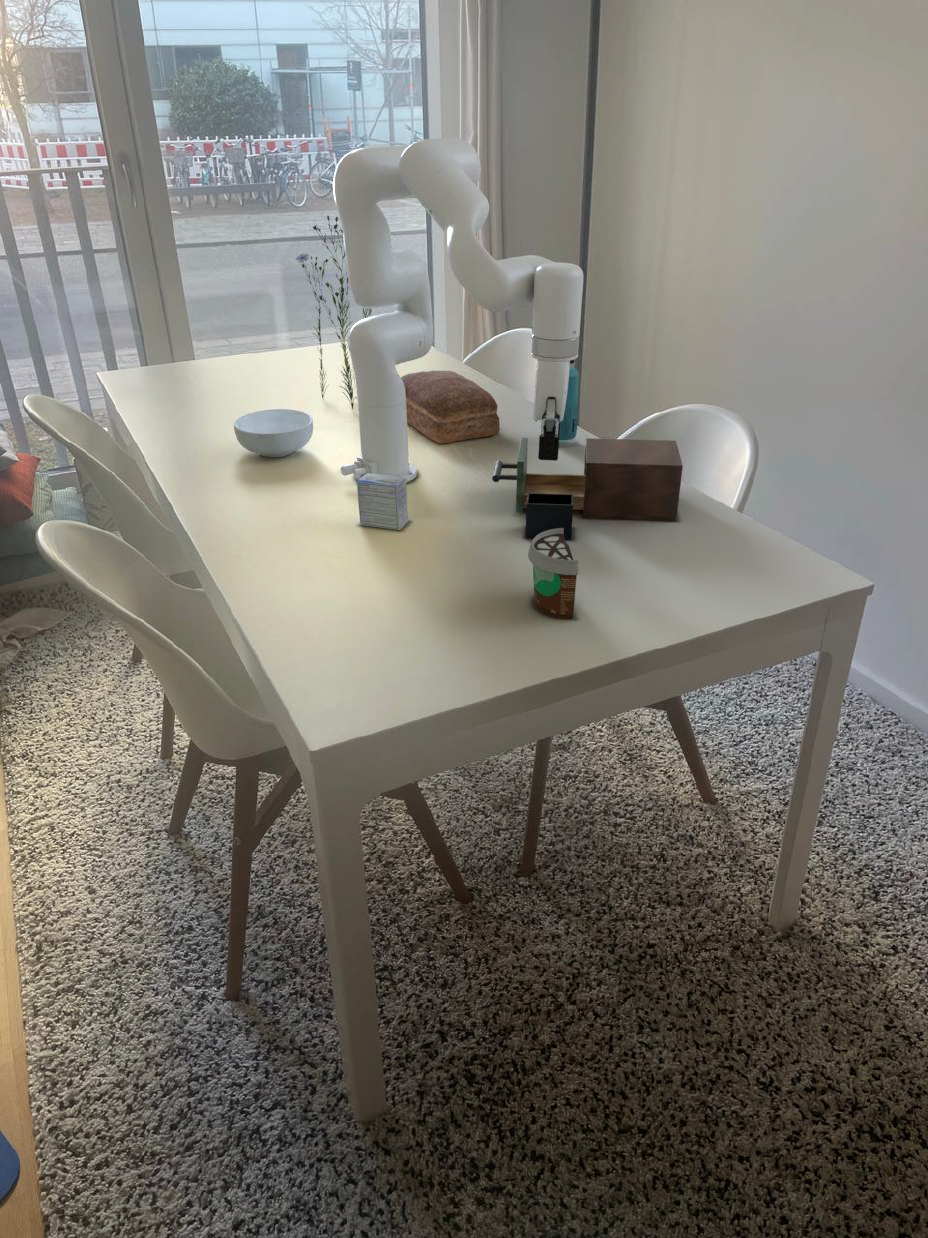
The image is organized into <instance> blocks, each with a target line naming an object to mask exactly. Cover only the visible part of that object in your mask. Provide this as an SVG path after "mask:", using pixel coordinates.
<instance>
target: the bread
mask: <svg viewBox="0 0 928 1238" xmlns="http://www.w3.org/2000/svg"><path fill="white" fill-rule="evenodd" d="M400 377H401V379H402V381H403V383H404V386H405V392H406V410H407V424H408V425H410V426H412V427H413V428H414V429H416V430H417V432H419V433H420V434H422V435H424V436H425V437H427V438H428V439H430V440H431V441H433V442H435V443H437V444H447V443H454V442H459V441H464V440H470V439H478V438H485V437H491V436H494V435H495V436H496V435H498V434H499V432H500V429H501V427H500V423H501V422H500V417H499V415H498V404H497V401H496V400H495V398H494V396H492V394H491V393H490V392H488V391H487V390H485V389H484V388H483V387H481V386H480V385H479V384H477V383H476V382H475V381H473V380H471V379H468V378H466V377H465V376H464V375H462V374H459V373H457V372H456V371H452V370H428V371H418V372H409V373H407V374H405V375H402V376H400Z"/></svg>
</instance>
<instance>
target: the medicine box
mask: <svg viewBox="0 0 928 1238" xmlns="http://www.w3.org/2000/svg"><path fill="white" fill-rule="evenodd" d="M356 488H357V500H358V501H357V502H358V503H357V504H358V516H359V525H360V526H365V527H373V528H380V529H381V528H382V529H388V530H396V531H401V529H402V528H403V527H404V526H405V525H406V524H407V523H408V522H409V509H408V508H409V507H408V490H407V489H408V488H407V483H406V478H405V477H397V476H389V475H380V474H370V473H367V474H365V475H364V476H363V477H361V478H360V479H359V480H357V481H356Z"/></svg>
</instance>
